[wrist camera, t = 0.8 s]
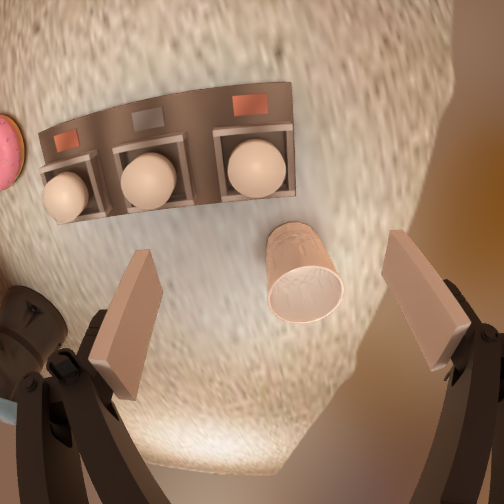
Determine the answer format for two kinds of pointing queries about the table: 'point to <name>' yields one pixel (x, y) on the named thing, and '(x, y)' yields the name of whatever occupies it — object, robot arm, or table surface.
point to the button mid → (148, 181)
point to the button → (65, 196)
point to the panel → (172, 144)
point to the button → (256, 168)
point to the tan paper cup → (300, 275)
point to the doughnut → (10, 152)
